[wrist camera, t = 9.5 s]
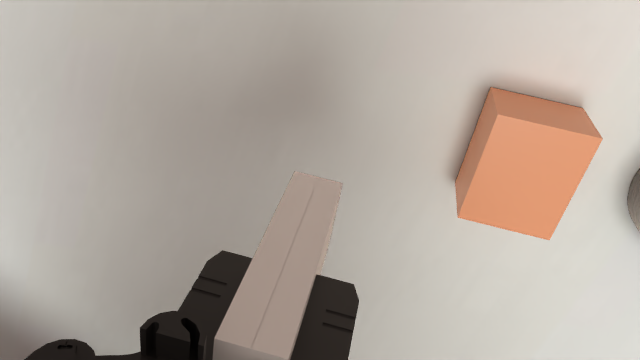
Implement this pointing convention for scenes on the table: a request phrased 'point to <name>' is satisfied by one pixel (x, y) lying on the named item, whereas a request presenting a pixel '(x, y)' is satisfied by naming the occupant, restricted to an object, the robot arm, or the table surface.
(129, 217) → the table surface
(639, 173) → the tongs fixed
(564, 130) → the terracotta clay cube
